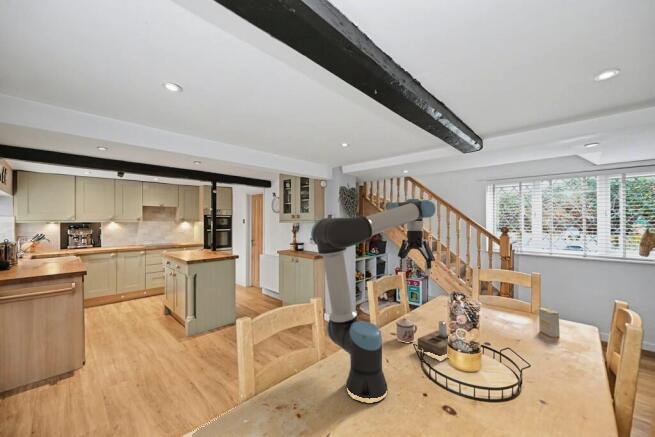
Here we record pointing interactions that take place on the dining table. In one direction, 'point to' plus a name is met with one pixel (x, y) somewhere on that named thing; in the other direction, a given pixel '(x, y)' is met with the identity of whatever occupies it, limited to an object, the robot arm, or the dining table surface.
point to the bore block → (433, 344)
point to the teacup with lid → (405, 330)
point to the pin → (442, 330)
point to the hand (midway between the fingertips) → (415, 273)
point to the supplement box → (549, 322)
